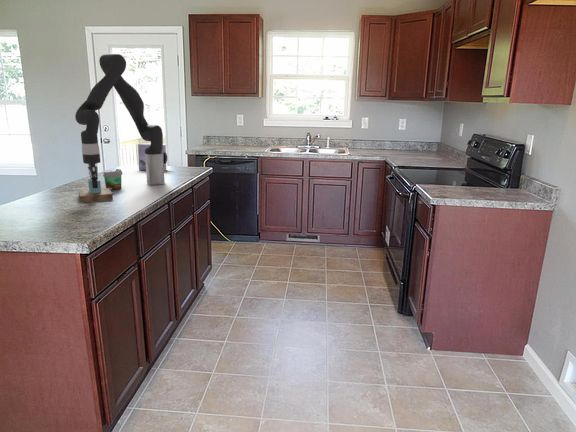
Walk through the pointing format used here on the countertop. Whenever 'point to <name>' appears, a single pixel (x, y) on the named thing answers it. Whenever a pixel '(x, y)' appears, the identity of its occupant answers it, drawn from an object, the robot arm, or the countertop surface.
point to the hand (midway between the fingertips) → (94, 186)
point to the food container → (113, 179)
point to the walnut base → (95, 195)
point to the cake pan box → (142, 156)
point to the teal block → (94, 190)
